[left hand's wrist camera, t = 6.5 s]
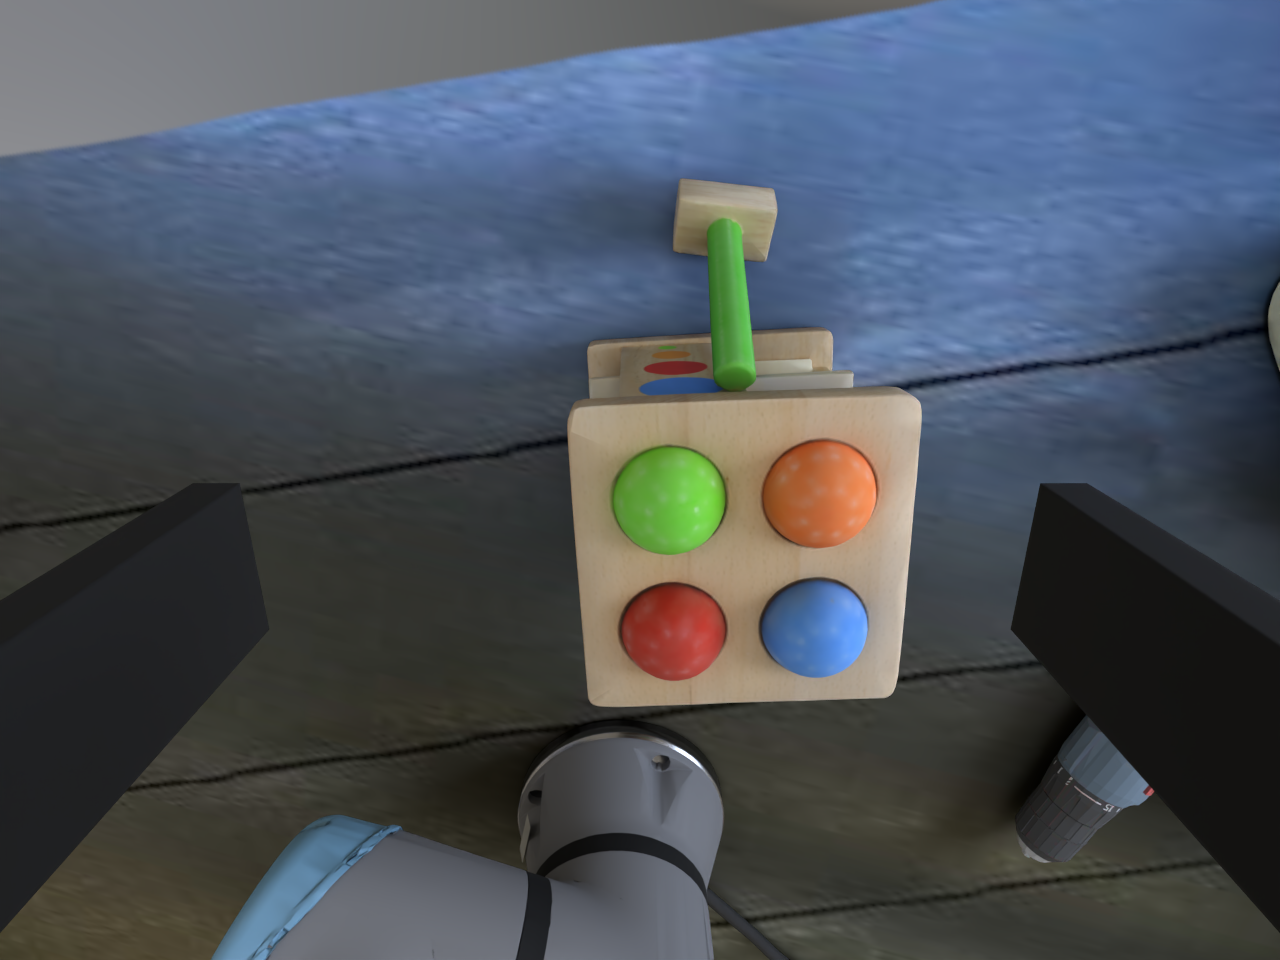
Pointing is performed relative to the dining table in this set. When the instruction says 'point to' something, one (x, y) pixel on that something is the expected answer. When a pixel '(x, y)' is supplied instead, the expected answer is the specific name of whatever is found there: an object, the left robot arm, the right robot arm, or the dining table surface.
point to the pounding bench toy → (738, 498)
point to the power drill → (1077, 796)
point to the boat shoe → (1275, 324)
